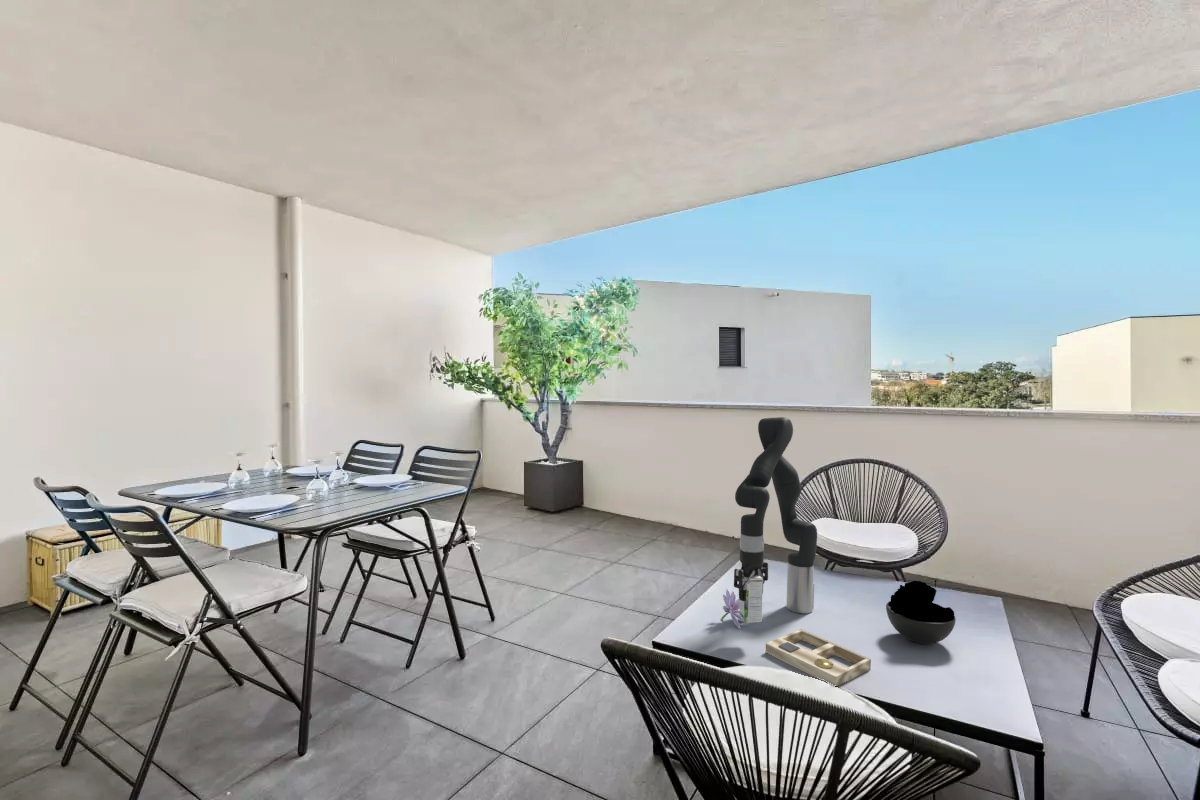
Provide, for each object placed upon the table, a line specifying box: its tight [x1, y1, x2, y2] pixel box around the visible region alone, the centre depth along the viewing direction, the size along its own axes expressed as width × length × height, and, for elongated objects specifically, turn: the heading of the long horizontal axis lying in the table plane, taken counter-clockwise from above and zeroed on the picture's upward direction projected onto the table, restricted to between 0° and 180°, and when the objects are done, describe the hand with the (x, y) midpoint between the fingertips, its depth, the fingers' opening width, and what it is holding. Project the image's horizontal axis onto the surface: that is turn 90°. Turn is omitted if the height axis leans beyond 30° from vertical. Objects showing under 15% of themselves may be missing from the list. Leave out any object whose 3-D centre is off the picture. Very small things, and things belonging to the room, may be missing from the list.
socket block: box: [765, 628, 872, 687], centre depth 172 cm, size 18×24×3 cm
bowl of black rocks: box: [885, 580, 957, 645], centre depth 186 cm, size 20×20×19 cm
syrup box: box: [739, 575, 764, 624], centre depth 182 cm, size 6×6×14 cm
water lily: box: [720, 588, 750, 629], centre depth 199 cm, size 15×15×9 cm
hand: (751, 597), depth 182 cm, fingers closed on syrup box, 8 cm apart
